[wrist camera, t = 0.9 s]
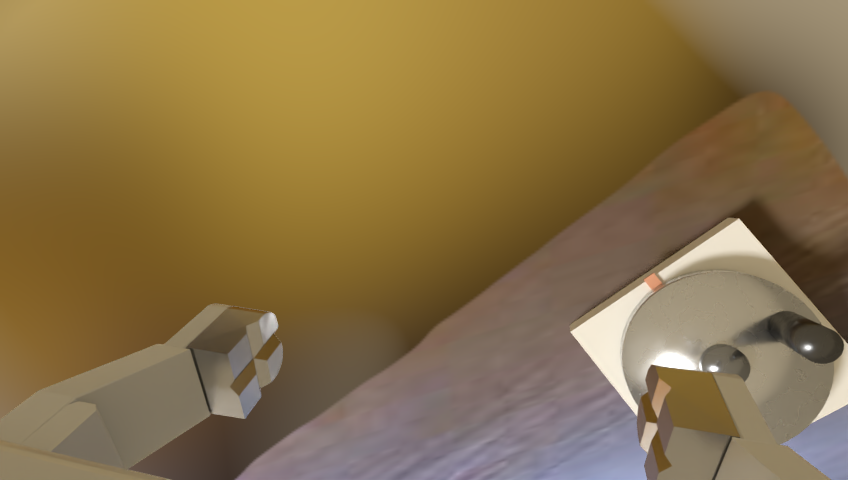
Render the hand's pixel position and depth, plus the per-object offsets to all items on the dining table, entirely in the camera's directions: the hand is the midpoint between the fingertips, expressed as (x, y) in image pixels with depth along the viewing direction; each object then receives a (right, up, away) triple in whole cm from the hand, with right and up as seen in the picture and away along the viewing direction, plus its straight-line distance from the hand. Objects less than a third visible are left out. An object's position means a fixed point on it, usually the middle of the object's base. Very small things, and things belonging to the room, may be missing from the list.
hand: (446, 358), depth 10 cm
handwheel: (+29, -9, +37) cm, 48 cm away
